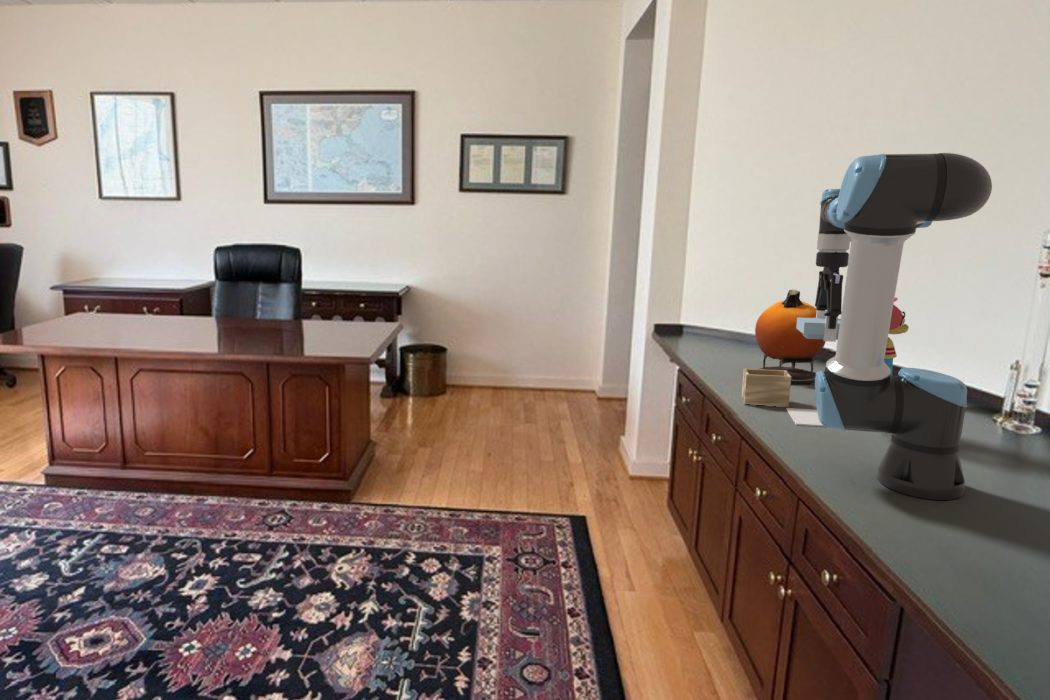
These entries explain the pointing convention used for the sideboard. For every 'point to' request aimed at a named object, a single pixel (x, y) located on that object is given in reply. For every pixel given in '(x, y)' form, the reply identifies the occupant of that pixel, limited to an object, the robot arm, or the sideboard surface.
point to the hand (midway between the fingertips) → (824, 337)
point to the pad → (804, 417)
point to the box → (766, 387)
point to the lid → (814, 327)
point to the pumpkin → (788, 337)
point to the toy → (895, 328)
